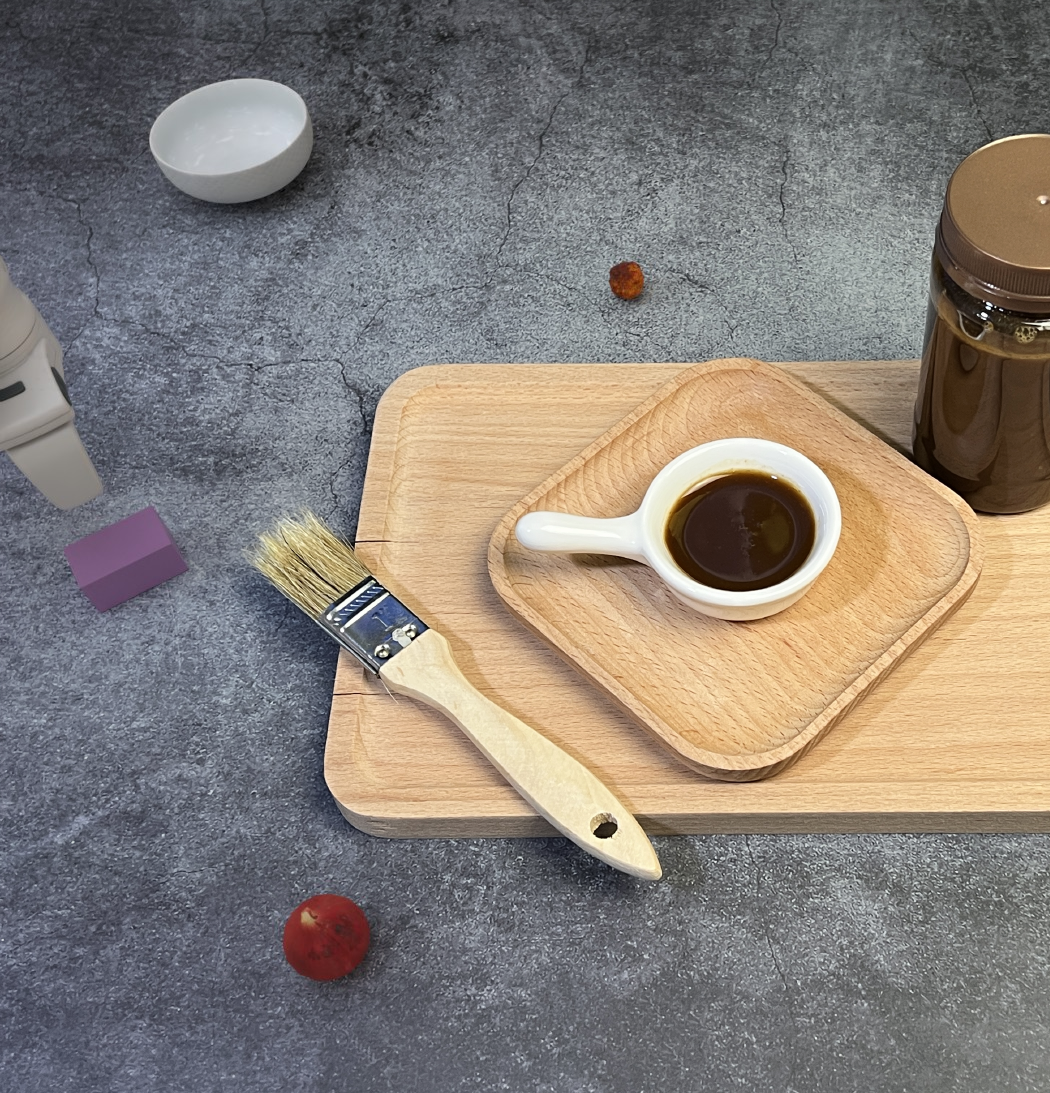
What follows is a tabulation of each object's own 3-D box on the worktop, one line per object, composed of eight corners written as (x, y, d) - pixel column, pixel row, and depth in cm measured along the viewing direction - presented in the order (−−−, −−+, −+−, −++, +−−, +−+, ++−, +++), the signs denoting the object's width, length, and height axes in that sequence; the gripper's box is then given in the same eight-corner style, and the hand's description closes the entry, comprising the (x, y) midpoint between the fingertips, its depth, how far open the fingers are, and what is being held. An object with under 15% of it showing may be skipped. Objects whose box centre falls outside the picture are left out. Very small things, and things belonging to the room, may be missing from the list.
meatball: (640, 279, 132) (636, 249, 129) (650, 302, 130) (646, 273, 127) (606, 288, 132) (601, 258, 129) (616, 311, 130) (611, 282, 127)
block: (83, 573, 114) (62, 548, 111) (170, 531, 116) (152, 504, 113) (100, 613, 112) (79, 588, 108) (189, 569, 114) (171, 543, 111)
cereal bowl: (356, 153, 146) (338, 99, 140) (261, 245, 138) (238, 193, 132) (240, 113, 151) (217, 60, 145) (141, 200, 143) (114, 147, 137)
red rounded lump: (395, 927, 95) (365, 889, 88) (359, 1004, 92) (326, 970, 85) (324, 904, 96) (290, 865, 89) (287, 980, 93) (248, 944, 86)
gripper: (-76, 295, 106) (8, 406, 118) (-10, 455, 96) (76, 559, 107) (0, 263, 108) (76, 375, 119) (74, 417, 98) (149, 523, 109)
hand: (77, 464), depth 113 cm, fingers closed
